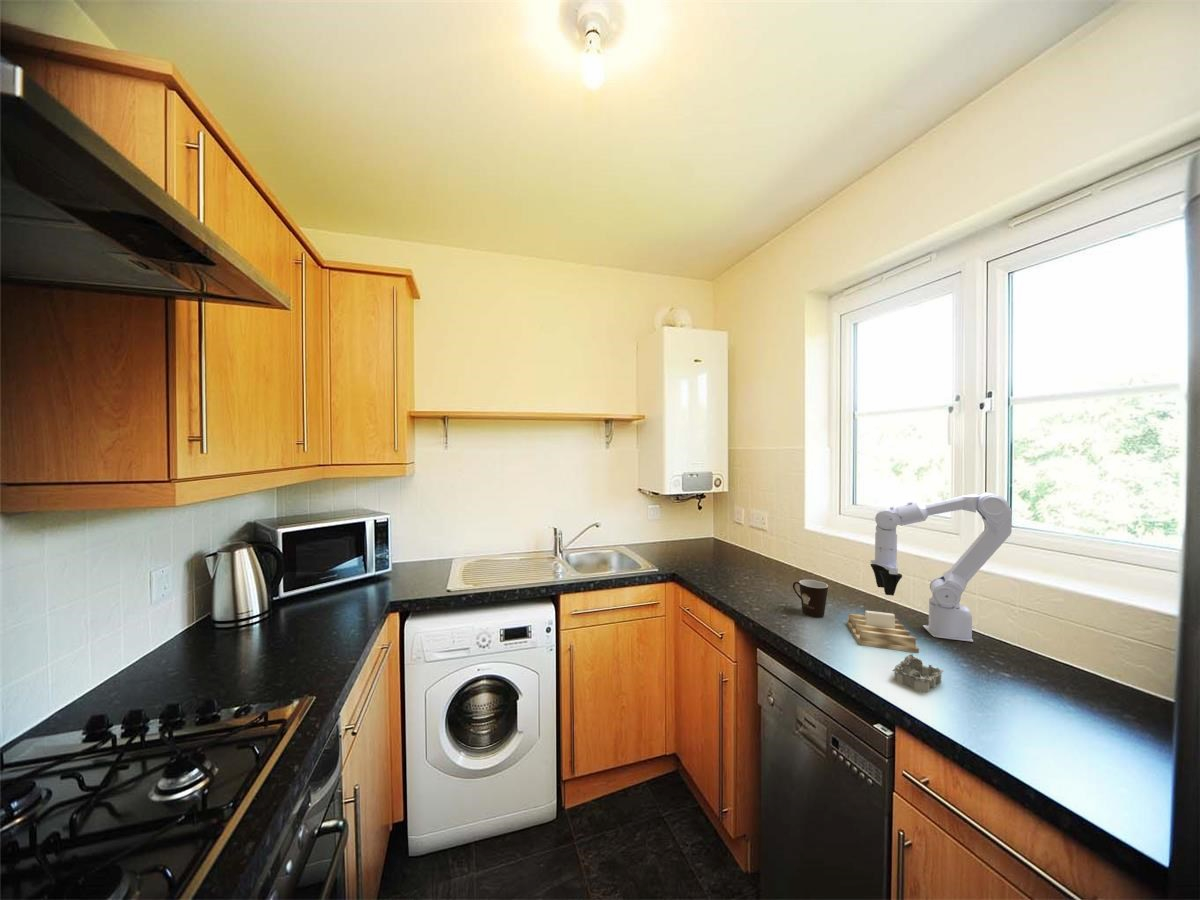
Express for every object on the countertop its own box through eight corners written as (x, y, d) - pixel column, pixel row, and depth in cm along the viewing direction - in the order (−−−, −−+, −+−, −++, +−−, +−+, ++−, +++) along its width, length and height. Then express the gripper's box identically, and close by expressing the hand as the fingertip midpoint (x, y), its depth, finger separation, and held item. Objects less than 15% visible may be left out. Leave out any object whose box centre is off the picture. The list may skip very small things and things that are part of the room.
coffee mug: (833, 619, 135) (833, 588, 135) (806, 619, 135) (806, 587, 135) (815, 606, 146) (815, 577, 146) (790, 605, 146) (790, 576, 146)
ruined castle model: (911, 668, 105) (911, 652, 105) (947, 683, 99) (947, 666, 99) (888, 679, 100) (888, 662, 100) (925, 696, 93) (925, 677, 93)
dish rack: (898, 630, 127) (898, 618, 127) (918, 652, 113) (919, 639, 113) (846, 623, 132) (846, 612, 132) (859, 644, 117) (859, 632, 117)
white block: (892, 634, 122) (893, 613, 122) (894, 636, 120) (895, 615, 120) (865, 630, 124) (865, 610, 124) (866, 633, 123) (867, 612, 123)
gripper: (864, 542, 141) (864, 582, 141) (878, 552, 127) (877, 596, 127) (889, 543, 139) (888, 585, 139) (905, 554, 125) (905, 599, 125)
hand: (885, 590), depth 133 cm, fingers open, 7 cm apart
